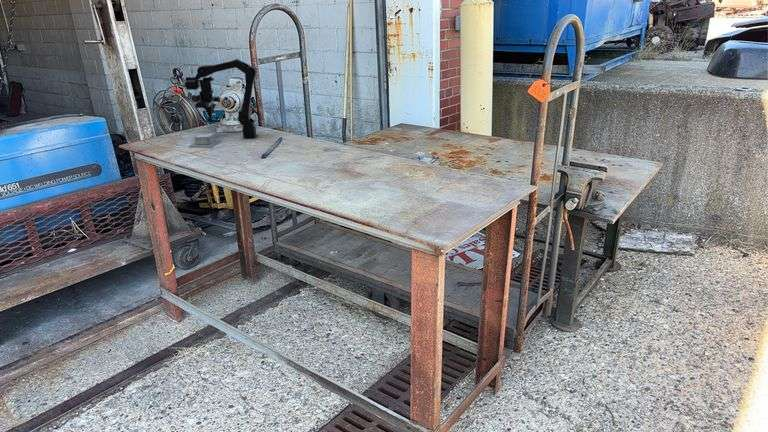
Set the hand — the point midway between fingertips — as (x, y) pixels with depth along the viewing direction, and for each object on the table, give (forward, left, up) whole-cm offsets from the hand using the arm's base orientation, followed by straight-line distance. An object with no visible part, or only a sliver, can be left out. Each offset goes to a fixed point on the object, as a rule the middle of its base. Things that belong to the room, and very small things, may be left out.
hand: (210, 117), depth 305 cm
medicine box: (-1, +5, -9) cm, 11 cm away
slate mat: (-1, +12, -12) cm, 17 cm away
